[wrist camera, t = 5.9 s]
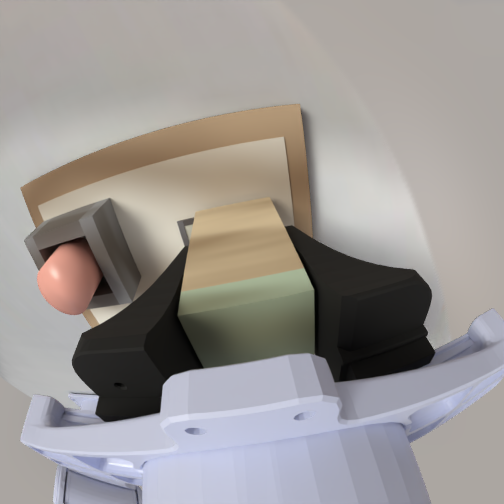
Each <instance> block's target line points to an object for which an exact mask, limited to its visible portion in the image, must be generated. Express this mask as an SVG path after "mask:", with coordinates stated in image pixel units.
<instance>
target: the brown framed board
mask: <svg viewBox="0 0 504 504" xmlns="http://www.w3.org/2000/svg"><path fill="white" fill-rule="evenodd" d="M21 191H22V194H23V197H24V199H25V202H26V205H27V207H28V210H29V212H30V215H31V217H32V220H33V222H34V224H35V227H36V229H35V230H34V231H33V232H32V233H31V234H30V235H29V236H28V237H27V238H26V239H25V240H24V242H25V244H26V246H27V248H28V250H29V252H30V254H31V256H32V258H33V260H34V262H35V264H36V266H37V268H38V270H40V269H41V268H42V266H43V265H44V264H45V263H46V261H47V260H48V259H49V258H50V256H51V255H52V254H53V253H54V252H55V250H56V249H57V248H58V247H59V246H60V245H61V243H63V242H66V241H69V240H72V239H75V238H79V237H82V238H85V239H87V241H88V243H89V245H90V248H91V250H92V252H93V254H94V256H95V258H96V260H97V262H98V265H99V267H100V269H101V271H102V273H103V277H102V279H101V281H100V283H99V285H98V287H97V289H96V291H95V293H94V295H93V297H92V299H91V301H90V303H89V305H88V307H87V309H86V310H85V311H84V312H83V313H82V314H83V315H84V317H85V318H86V320H87V321H88V323H89V324H90V326H91V327H92V328H94V327H96V326H97V325H99V324H101V323H103V322H105V321H106V320H108V319H110V318H111V317H113V316H114V315H116V314H117V313H119V312H120V311H122V310H123V309H124V308H126V307H127V306H128V305H130V304H131V303H132V302H133V301H135V300H136V299H137V298H138V297H140V296H141V295H142V294H143V293H144V292H145V291H146V290H147V289H148V288H149V287H150V286H151V285H152V284H153V283H154V282H155V281H156V280H157V279H158V278H159V277H160V275H161V274H162V273H163V272H164V271H165V270H166V269H167V267H168V266H169V265H170V264H171V262H172V261H173V260H174V259H175V257H176V256H177V255H178V254H179V252H180V251H181V250H182V249H183V248H184V247H185V246H189V243H190V237H191V232H192V227H193V222H194V217H195V212H197V211H201V210H206V209H210V208H215V207H220V206H225V205H230V204H234V203H239V202H245V201H250V200H255V199H260V198H266V197H270V199H271V201H272V203H273V205H274V207H275V209H276V211H277V213H278V215H279V217H280V219H281V221H282V223H283V225H284V226H290V225H293V226H294V227H296V228H297V229H299V230H301V231H302V232H304V233H305V234H307V235H308V236H310V237H311V238H313V234H312V217H311V203H310V191H309V179H308V169H307V159H306V149H305V140H304V132H303V124H302V116H301V109H300V104H292V105H282V106H274V107H266V108H259V109H252V110H246V111H240V112H234V113H229V114H224V115H218V116H214V117H209V118H204V119H200V120H196V121H191V122H187V123H183V124H179V125H175V126H172V127H168V128H164V129H161V130H157V131H154V132H151V133H147V134H144V135H141V136H138V137H135V138H132V139H129V140H126V141H123V142H120V143H117V144H115V145H112V146H109V147H107V148H104V149H101V150H99V151H96V152H94V153H91V154H89V155H86V156H84V157H82V158H79V159H77V160H75V161H72V162H70V163H68V164H66V165H63V166H61V167H59V168H57V169H55V170H53V171H51V172H49V173H47V174H45V175H43V176H41V177H39V178H37V179H35V180H33V181H31V182H29V183H28V184H26V185H24V186H23V187H21ZM314 354H315V353H314Z"/></svg>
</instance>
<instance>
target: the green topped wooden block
mask: <svg viewBox="0 0 504 504" xmlns="http://www.w3.org/2000/svg"><path fill="white" fill-rule="evenodd" d="M178 318H179V320H180V322H181V324H182V326H183V328H184V330H185V332H186V334H187V336H188V338H189V340H190V342H191V344H192V346H193V348H194V350H195V352H196V354H197V356H198V358H199V360H200V362H201V363H202V365H203V367H204V368H211V367H219V366H225V365H232V364H238V363H244V362H250V361H256V360H261V359H267V358H272V357H277V356H281V355H286V354H299V353H310V354H313V355H314V353H315V315H314V289H313V286H312V284H311V282H310V280H309V278H308V275H307V273H306V271H305V269H304V267H303V265H302V263H301V260H300V258H299V256H298V254H297V252H296V250H295V248H294V246H293V243H292V241H291V239H290V237H289V235H288V233H287V231H286V229H285V227H284V225H283V223H282V221H281V219H280V217H279V215H278V213H277V211H276V209H275V207H274V205H273V203H272V201H271V199H270V197H266V198H260V199H255V200H250V201H245V202H239V203H234V204H230V205H225V206H220V207H215V208H210V209H206V210H201V211H197V212H195V217H194V222H193V227H192V232H191V237H190V243H189V248H188V253H187V259H186V265H185V271H184V277H183V283H182V289H181V295H180V302H179V309H178Z"/></svg>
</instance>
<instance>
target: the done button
mask: <svg viewBox="0 0 504 504" xmlns="http://www.w3.org/2000/svg"><path fill="white" fill-rule="evenodd" d="M102 277H103V273H102V271H101V269H100V267H99V265H98V262H97V260H96V258H95V256H94V254H93V252H92V250H91V248H90V245H89V243H88V241H87V239H85V238H82V237H79V238H75V239H72V240H69V241H66V242H63V243H61V245H60V246H59V247H58V248H57V249H56V250H55V252H54V253H53V254H52V255H51V256H50V258H49V259H48V260H47V261H46V263H45V264H44V265H43V266H42V268H41V269H40V270H39V272H38V276H37V282H38V286H39V289H40V291H41V293H42V295H43V297H44V298H45V299H46V301H47V302H48V303H49V304H50V305H52V306H53V307H54V308H55V309H57V310H59V311H61V312H63V313H65V314H69V315H78V314H81V313H83V312H84V311H85V310H86V309H87V307H88V305H89V303H90V301H91V299H92V297H93V295H94V293H95V291H96V289H97V287H98V285H99V283H100V281H101V279H102Z"/></svg>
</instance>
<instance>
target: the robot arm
mask: <svg viewBox="0 0 504 504" xmlns="http://www.w3.org/2000/svg"><path fill="white" fill-rule="evenodd" d="M284 227H285V229H286V231H287V233H288V235H289V237H290V239H291V241H292V243H293V246H294V248H295V250H296V252H297V254H298V256H299V258H300V260H301V263H302V265H303V267H304V269H305V271H306V273H307V275H308V278H309V280H310V282H311V284H312V286H313V289H314V315H315V355H313V354H310V353H299V354H286V355H281V356H277V357H272V358H267V359H261V360H256V361H250V362H244V363H238V364H232V365H225V366H219V367H211V368H204V367H203V365H202V363H201V362H200V360H199V358H198V356H197V354H196V352H195V350H194V348H193V346H192V344H191V342H190V340H189V338H188V336H187V334H186V332H185V330H184V328H183V326H182V324H181V322H180V320H179V318H178V309H179V302H180V295H181V289H182V283H183V277H184V271H185V265H186V259H187V253H188V248H189V246H185V247H184V248H183V249H182V250H181V251H180V252H179V254H178V255H177V256H176V257H175V259H174V260H173V261H172V262H171V264H170V265H169V266H168V267H167V269H166V270H165V271H164V272H163V273H162V274H161V275H160V277H159V278H158V279H157V280H156V281H155V282H154V283H153V284H152V285H151V286H150V287H149V288H148V289H147V290H146V291H145V292H144V293H143V294H142V295H141V296H140V297H138V298H137V299H136V300H135V301H133V302H132V303H131V304H130V305H128V306H127V307H126V308H124V309H123V310H122V311H120V312H119V313H117V314H116V315H114V316H113V317H111V318H110V319H108V320H106V321H105V322H103V323H101V324H99V325H97V326H96V327H94V328H92V329H90V330H88V331H86V332H84V333H82V335H81V338H80V340H79V342H78V345H77V348H76V350H75V353H74V355H73V358H72V366H73V368H74V370H75V372H76V374H77V375H78V376H79V377H80V378H81V380H82V381H83V382H84V383H85V384H86V385H87V386H88V387H89V388H90V389H91V390H93V391H94V392H95V393H96V394H97V395H85V394H72V393H69V395H68V397H69V398H70V399H71V400H72V401H74V402H75V403H76V404H77V405H78V406H79V407H81V408H80V410H79V409H71V408H64V406H63V405H62V404H61V403H60V402H59V401H57V400H56V399H54V398H52V397H50V396H44V395H38V394H34V395H33V398H32V401H31V404H30V407H29V410H28V413H27V417H26V420H25V424H24V427H23V431H22V435H21V438H20V440H21V442H22V443H24V444H25V445H26V446H28V447H30V448H31V449H33V450H34V451H36V452H38V453H39V454H41V455H43V456H44V457H46V458H48V459H50V460H51V461H53V462H55V463H57V464H58V466H57V472H56V478H55V486H54V497H53V503H54V504H63V503H64V504H431V501H430V498H429V495H428V492H427V489H426V486H425V483H424V480H423V478H422V475H421V472H420V469H419V467H418V464H417V461H416V459H415V456H414V453H413V451H412V448H411V446H410V443H411V442H413V441H415V440H417V439H419V438H420V437H422V436H424V435H426V434H427V433H429V432H431V431H432V430H434V429H436V428H437V427H439V426H441V425H442V424H444V423H445V422H447V421H448V420H450V419H451V418H453V417H454V416H456V415H457V414H459V413H460V412H461V411H463V410H464V409H466V408H467V407H469V406H470V405H471V404H473V403H474V402H476V401H477V400H478V399H479V398H481V397H482V396H484V395H485V394H486V393H487V392H489V391H490V390H491V389H492V388H494V387H495V386H496V385H497V384H498V383H499V382H500V381H501V379H502V378H503V377H504V320H503V319H502V318H501V316H500V315H499V314H498V313H497V312H496V311H495V309H494V308H491V309H490V310H488V311H486V312H485V313H483V314H481V315H479V316H478V317H476V318H475V319H474V321H473V322H472V323H471V325H470V327H469V329H468V332H467V333H466V334H465V335H463V336H461V337H459V338H457V339H455V340H453V341H451V342H449V343H447V344H445V345H443V346H441V347H439V348H437V349H435V350H434V349H433V347H432V346H431V344H430V343H429V341H428V340H427V338H426V336H427V335H428V331H427V330H426V328H425V327H424V325H423V324H424V321H425V319H426V316H427V313H428V310H429V307H430V304H431V299H432V292H431V289H430V287H429V285H428V284H427V283H426V282H425V281H424V280H423V278H422V277H421V276H420V275H419V274H418V273H417V272H416V271H415V270H412V269H403V268H393V267H388V266H382V265H377V264H373V263H369V262H366V261H362V260H359V259H356V258H353V257H350V256H347V255H345V254H342V253H340V252H338V251H335V250H333V249H331V248H329V247H327V246H325V245H323V244H322V243H320V242H318V241H316V240H315V239H313V238H311V237H310V236H308V235H307V234H305V233H304V232H302V231H301V230H299V229H297V228H296V227H294V226H293V225H290V226H284ZM137 485H138V486H137ZM139 486H142V490H141V489H140V487H139Z"/></svg>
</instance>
